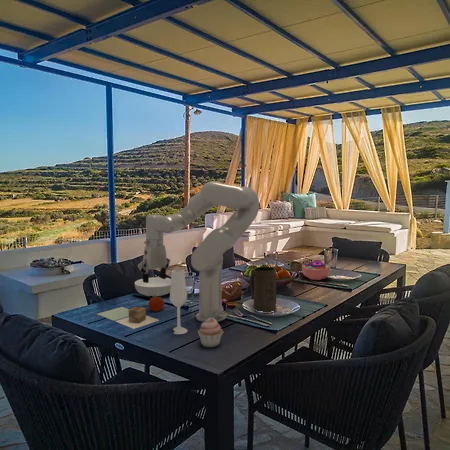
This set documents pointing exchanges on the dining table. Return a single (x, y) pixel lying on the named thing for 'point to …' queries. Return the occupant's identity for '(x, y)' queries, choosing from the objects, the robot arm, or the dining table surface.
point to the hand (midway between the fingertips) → (154, 280)
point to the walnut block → (137, 314)
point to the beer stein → (263, 289)
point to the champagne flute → (178, 296)
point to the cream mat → (136, 325)
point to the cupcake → (210, 333)
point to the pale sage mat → (115, 313)
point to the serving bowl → (154, 286)
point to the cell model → (316, 270)
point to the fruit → (156, 304)
